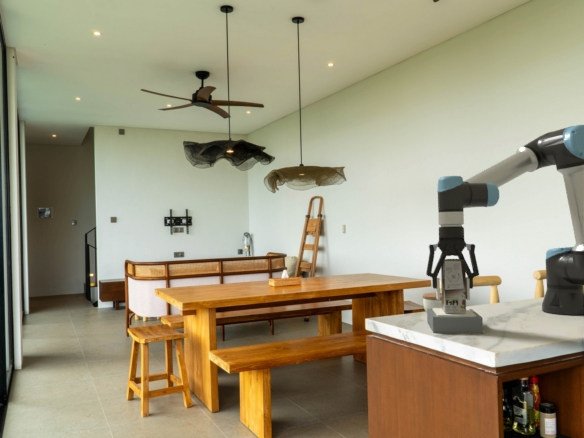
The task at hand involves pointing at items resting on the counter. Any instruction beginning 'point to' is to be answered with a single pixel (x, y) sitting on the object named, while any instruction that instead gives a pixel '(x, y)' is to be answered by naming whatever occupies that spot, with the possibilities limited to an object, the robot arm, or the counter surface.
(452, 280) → the coffee box
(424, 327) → the counter surface
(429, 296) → the lidded jar
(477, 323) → the dock
